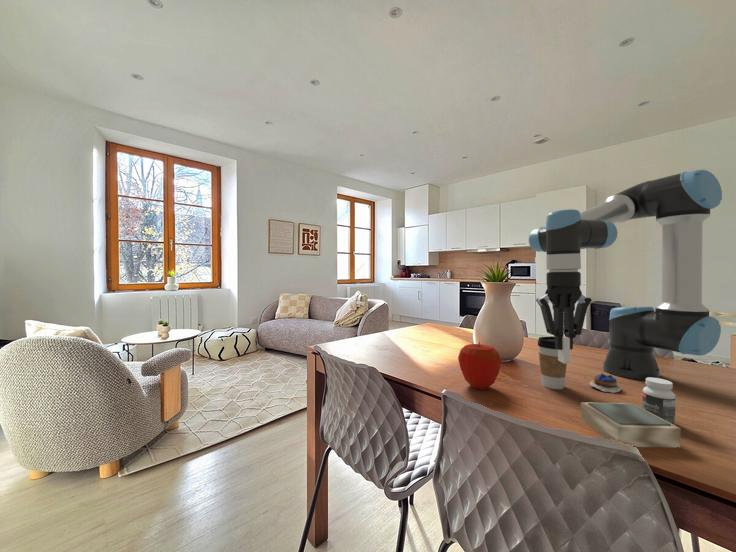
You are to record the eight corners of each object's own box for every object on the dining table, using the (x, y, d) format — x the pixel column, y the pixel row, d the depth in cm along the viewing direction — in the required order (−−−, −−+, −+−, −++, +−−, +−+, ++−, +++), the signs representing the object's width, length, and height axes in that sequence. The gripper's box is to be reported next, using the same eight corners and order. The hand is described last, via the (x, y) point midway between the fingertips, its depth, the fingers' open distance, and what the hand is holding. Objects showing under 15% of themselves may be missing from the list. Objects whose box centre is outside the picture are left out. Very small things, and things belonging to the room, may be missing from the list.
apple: (506, 386, 96) (507, 341, 96) (491, 398, 88) (491, 348, 87) (468, 377, 105) (468, 335, 105) (451, 387, 96) (451, 341, 96)
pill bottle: (635, 417, 76) (635, 376, 76) (657, 416, 77) (657, 376, 77) (659, 429, 70) (659, 385, 70) (682, 428, 71) (683, 384, 71)
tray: (632, 419, 75) (632, 402, 75) (680, 448, 63) (680, 426, 63) (580, 418, 75) (580, 401, 75) (618, 446, 63) (618, 425, 63)
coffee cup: (573, 392, 92) (574, 341, 92) (542, 390, 94) (542, 340, 94) (562, 382, 100) (562, 335, 100) (533, 380, 102) (533, 334, 102)
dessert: (602, 378, 100) (614, 368, 96) (618, 398, 95) (631, 388, 91) (581, 381, 98) (592, 370, 94) (596, 401, 93) (608, 391, 89)
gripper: (580, 270, 84) (580, 357, 85) (530, 271, 85) (531, 357, 85) (599, 270, 77) (599, 366, 77) (544, 271, 78) (545, 366, 78)
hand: (563, 361), depth 81 cm, fingers closed
